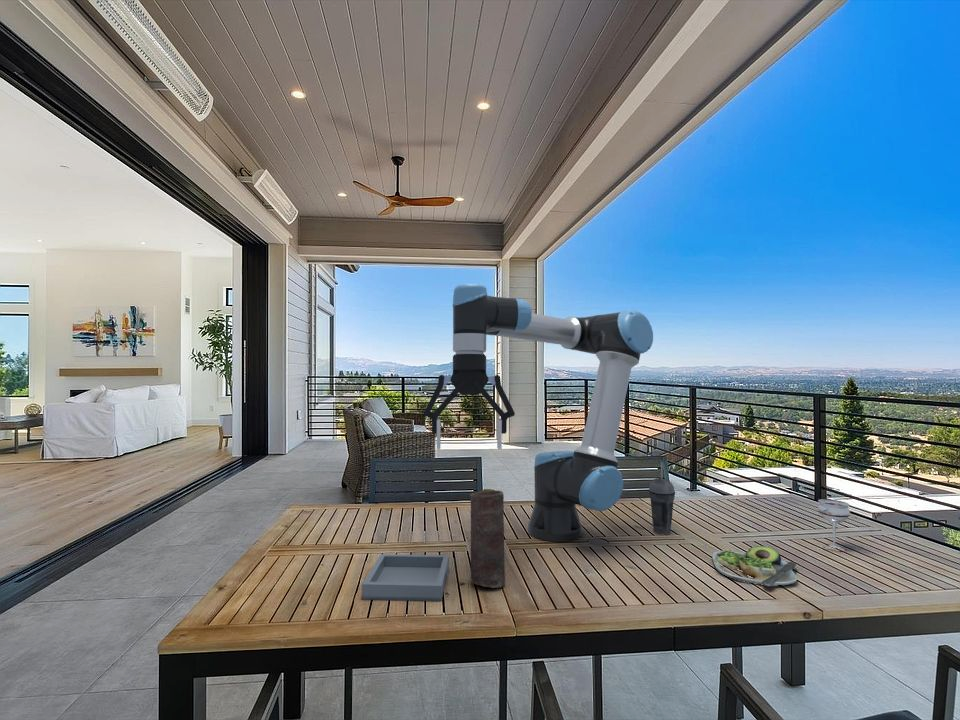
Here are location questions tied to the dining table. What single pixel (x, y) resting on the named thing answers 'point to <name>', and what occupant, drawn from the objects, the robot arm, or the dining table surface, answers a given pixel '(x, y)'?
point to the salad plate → (757, 566)
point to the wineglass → (834, 513)
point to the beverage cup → (662, 504)
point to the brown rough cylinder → (487, 538)
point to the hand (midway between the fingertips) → (469, 448)
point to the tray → (407, 578)
